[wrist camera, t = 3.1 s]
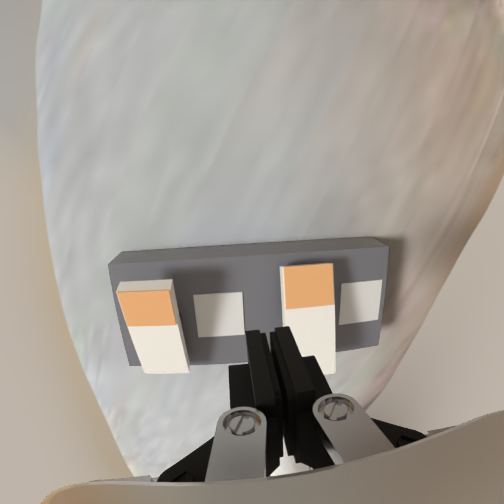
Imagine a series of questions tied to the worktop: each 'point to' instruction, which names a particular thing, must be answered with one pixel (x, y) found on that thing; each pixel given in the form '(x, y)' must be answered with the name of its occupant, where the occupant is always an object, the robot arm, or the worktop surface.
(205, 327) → the switch panel
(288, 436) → the robot arm
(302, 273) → the rocker
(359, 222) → the worktop surface
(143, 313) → the rocker
